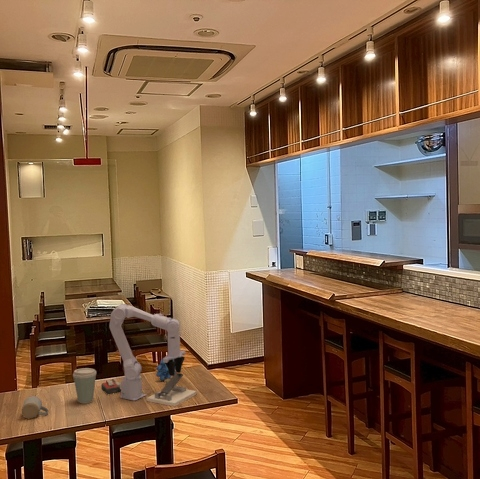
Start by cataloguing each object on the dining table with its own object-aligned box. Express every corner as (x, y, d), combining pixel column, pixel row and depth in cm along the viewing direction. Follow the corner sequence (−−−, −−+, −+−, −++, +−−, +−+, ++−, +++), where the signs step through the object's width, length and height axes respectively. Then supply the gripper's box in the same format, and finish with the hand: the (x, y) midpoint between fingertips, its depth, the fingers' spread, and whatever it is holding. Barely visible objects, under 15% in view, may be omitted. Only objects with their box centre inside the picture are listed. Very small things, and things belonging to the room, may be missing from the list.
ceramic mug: (21, 420, 219) (20, 403, 218) (24, 413, 227) (23, 396, 226) (47, 417, 221) (47, 400, 221) (49, 410, 229) (49, 394, 229)
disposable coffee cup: (88, 395, 246) (86, 365, 246) (103, 399, 240) (101, 368, 239) (69, 402, 238) (67, 371, 237) (84, 407, 232) (82, 374, 231)
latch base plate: (147, 401, 237) (146, 391, 236) (170, 389, 251) (169, 380, 251) (174, 406, 228) (174, 397, 228) (196, 394, 243) (196, 385, 243)
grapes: (175, 376, 272) (174, 353, 272) (179, 379, 266) (178, 356, 265) (154, 379, 267) (153, 356, 267) (157, 383, 261) (156, 360, 261)
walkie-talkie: (125, 392, 250) (114, 381, 268) (125, 383, 250) (114, 373, 267) (107, 396, 246) (97, 385, 263) (107, 387, 246) (97, 376, 263)
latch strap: (166, 397, 233) (165, 395, 232) (159, 396, 235) (158, 393, 234) (183, 375, 244) (182, 373, 243) (176, 374, 246) (175, 372, 245)
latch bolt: (164, 382, 247) (164, 380, 247) (168, 380, 250) (168, 378, 250) (171, 383, 245) (170, 381, 245) (174, 381, 248) (174, 379, 248)
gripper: (171, 350, 233) (172, 379, 234) (190, 342, 245) (191, 370, 246) (159, 348, 236) (160, 377, 237) (178, 341, 249) (179, 368, 250)
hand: (175, 373), depth 242 cm, fingers open, 4 cm apart
